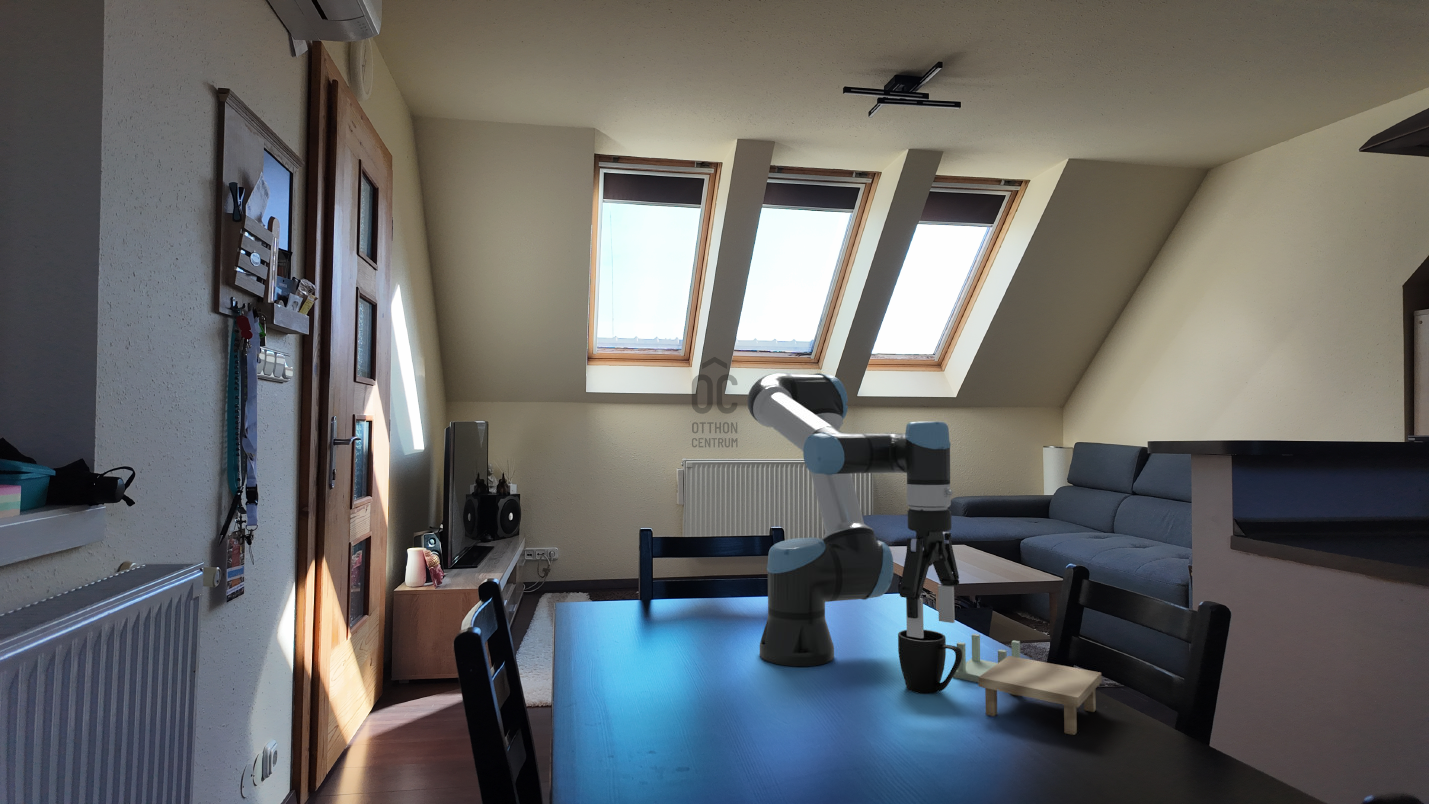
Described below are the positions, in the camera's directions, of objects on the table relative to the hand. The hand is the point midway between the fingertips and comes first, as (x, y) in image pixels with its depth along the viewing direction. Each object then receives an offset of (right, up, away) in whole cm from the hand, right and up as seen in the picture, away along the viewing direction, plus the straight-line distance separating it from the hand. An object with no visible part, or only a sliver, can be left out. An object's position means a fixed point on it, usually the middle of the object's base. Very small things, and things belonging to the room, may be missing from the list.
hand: (931, 629), depth 134 cm
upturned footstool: (+13, -11, +8) cm, 19 cm away
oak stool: (+15, -11, -10) cm, 21 cm away
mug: (0, -11, 0) cm, 11 cm away
